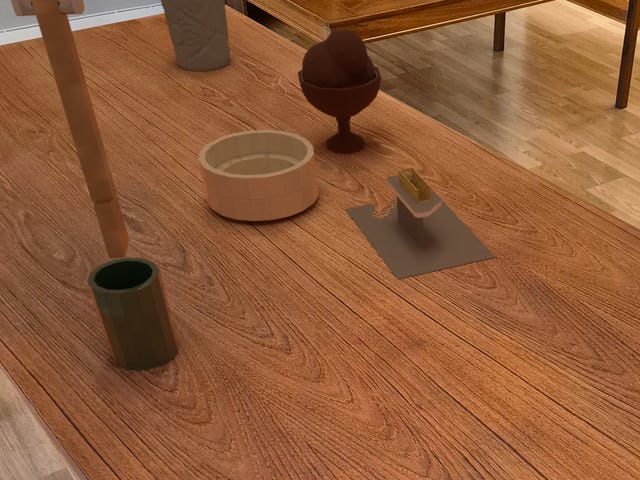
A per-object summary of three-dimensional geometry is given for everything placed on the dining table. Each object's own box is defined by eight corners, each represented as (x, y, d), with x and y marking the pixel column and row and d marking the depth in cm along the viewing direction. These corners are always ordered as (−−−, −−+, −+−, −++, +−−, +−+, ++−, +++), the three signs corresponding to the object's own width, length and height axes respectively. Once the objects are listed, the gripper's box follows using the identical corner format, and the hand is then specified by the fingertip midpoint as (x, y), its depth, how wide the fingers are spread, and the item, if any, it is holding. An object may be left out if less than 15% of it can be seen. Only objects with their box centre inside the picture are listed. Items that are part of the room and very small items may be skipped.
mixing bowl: (205, 229, 105) (195, 181, 101) (211, 178, 115) (201, 132, 111) (321, 221, 107) (315, 173, 103) (317, 172, 117) (311, 127, 113)
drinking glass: (171, 74, 142) (153, -9, 134) (174, 52, 149) (157, -28, 141) (236, 70, 143) (222, -12, 135) (236, 49, 151) (223, -30, 142)
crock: (110, 378, 84) (82, 296, 78) (118, 340, 89) (92, 259, 83) (177, 372, 85) (155, 290, 79) (182, 335, 90) (161, 254, 83)
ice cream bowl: (378, 126, 128) (371, 13, 118) (389, 159, 120) (382, 41, 110) (304, 131, 126) (290, 17, 116) (310, 165, 119) (295, 46, 108)
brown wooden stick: (106, 258, 78) (13, -50, 62) (111, 241, 81) (22, -62, 64) (127, 257, 79) (40, -51, 62) (131, 239, 81) (48, -62, 64)
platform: (434, 191, 113) (433, 140, 109) (495, 257, 102) (496, 203, 97) (344, 208, 110) (340, 157, 105) (397, 279, 98) (394, 224, 93)
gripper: (154, -228, 60) (196, -5, 70) (-171, -228, 58) (-82, 5, 67) (145, -217, 56) (191, 21, 65) (-209, -216, 53) (-107, 32, 63)
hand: (51, 13), depth 66 cm, fingers closed on brown wooden stick, 2 cm apart
